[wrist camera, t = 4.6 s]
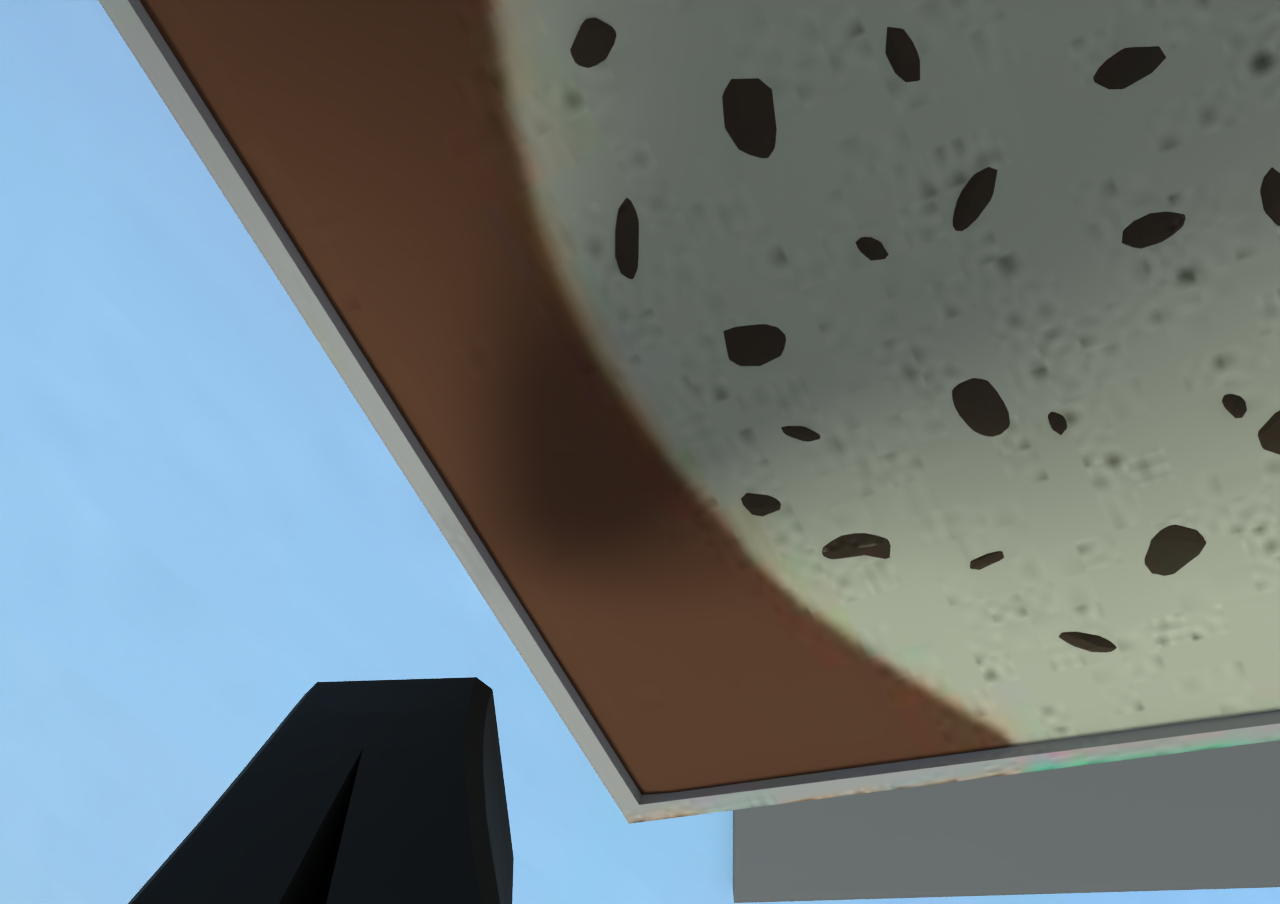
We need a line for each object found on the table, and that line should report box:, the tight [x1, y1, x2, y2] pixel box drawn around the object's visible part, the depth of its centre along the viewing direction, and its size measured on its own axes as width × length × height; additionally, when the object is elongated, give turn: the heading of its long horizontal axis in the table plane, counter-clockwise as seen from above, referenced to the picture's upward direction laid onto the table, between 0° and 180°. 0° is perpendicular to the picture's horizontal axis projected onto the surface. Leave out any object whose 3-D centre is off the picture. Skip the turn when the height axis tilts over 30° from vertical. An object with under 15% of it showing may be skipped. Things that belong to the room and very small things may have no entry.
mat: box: [733, 740, 1280, 903], centre depth 15 cm, size 14×20×1 cm
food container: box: [99, 0, 1280, 823], centre depth 12 cm, size 12×6×10 cm
